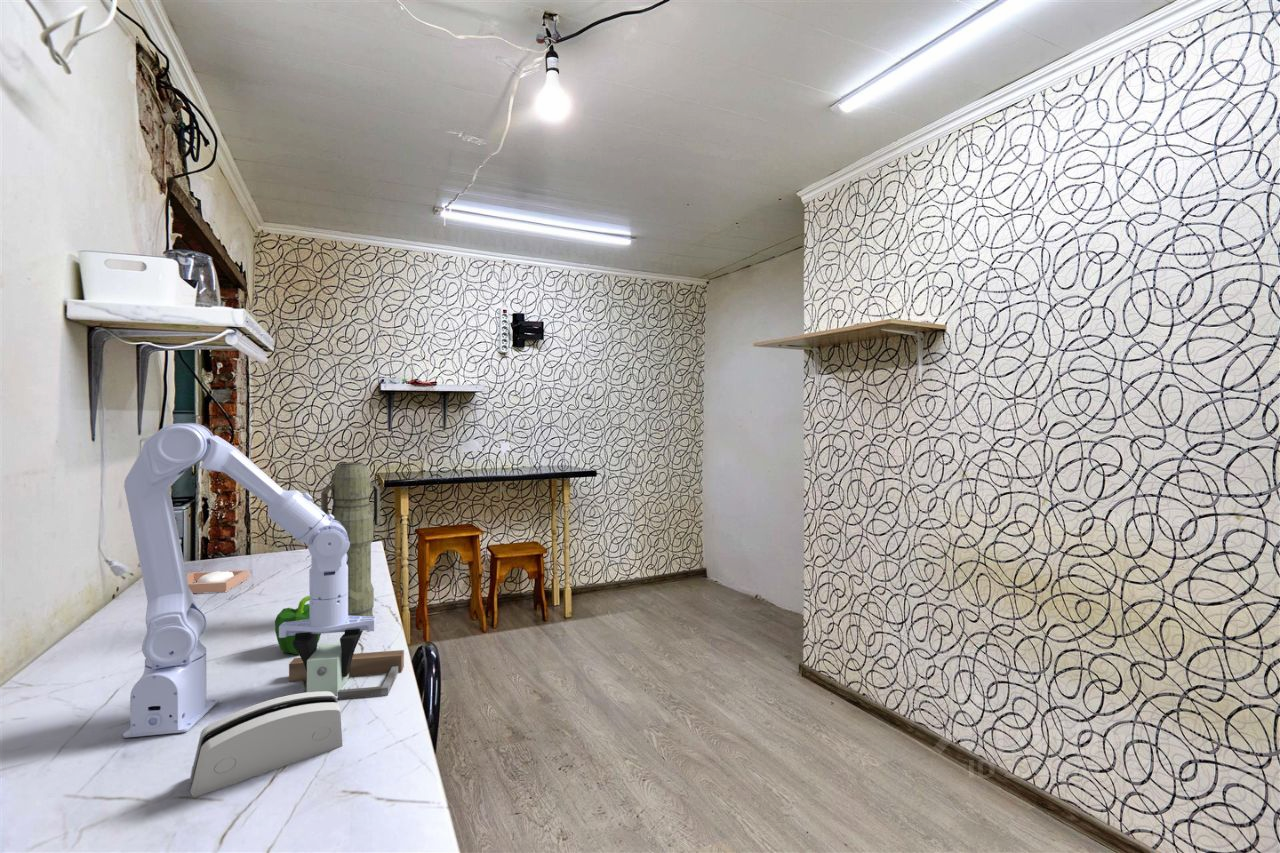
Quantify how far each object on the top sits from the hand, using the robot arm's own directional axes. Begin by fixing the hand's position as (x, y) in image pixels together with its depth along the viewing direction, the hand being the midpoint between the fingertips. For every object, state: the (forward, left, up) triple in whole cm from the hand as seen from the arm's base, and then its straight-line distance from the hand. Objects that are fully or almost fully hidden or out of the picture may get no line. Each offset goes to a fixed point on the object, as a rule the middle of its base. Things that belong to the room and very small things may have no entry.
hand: (329, 675), depth 97 cm
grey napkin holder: (-23, 0, -2) cm, 23 cm away
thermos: (+34, +5, -2) cm, 34 cm away
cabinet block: (0, 0, -2) cm, 2 cm away
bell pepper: (+18, +10, -2) cm, 21 cm away
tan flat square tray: (+69, +49, -2) cm, 85 cm away
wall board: (0, -2, -2) cm, 3 cm away
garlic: (+70, +48, -2) cm, 85 cm away
